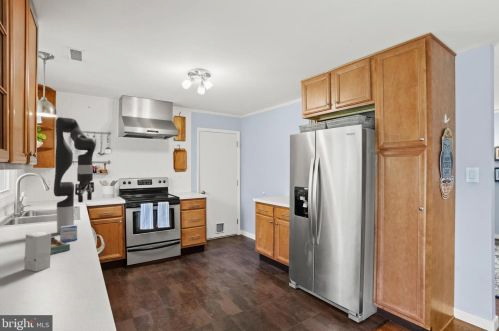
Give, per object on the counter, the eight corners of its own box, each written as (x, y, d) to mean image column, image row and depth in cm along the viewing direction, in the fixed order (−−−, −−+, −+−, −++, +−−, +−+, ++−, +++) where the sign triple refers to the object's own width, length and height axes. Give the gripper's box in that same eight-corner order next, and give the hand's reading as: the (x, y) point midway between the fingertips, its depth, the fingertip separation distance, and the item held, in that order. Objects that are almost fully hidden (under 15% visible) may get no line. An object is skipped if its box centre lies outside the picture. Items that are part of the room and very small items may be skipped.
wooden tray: (34, 246, 145) (34, 240, 145) (53, 242, 152) (53, 237, 152) (48, 254, 131) (48, 248, 131) (69, 250, 138) (69, 244, 138)
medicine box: (61, 242, 151) (60, 227, 151) (60, 241, 155) (60, 226, 155) (77, 240, 157) (77, 225, 157) (76, 238, 160) (76, 224, 160)
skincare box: (23, 269, 112) (23, 234, 112) (39, 264, 118) (39, 231, 118) (36, 272, 109) (36, 236, 109) (51, 267, 115) (51, 232, 115)
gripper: (85, 172, 159) (85, 199, 159) (70, 173, 145) (70, 203, 145) (98, 172, 159) (98, 199, 159) (84, 173, 145) (84, 203, 145)
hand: (85, 201), depth 152 cm, fingers open, 8 cm apart
